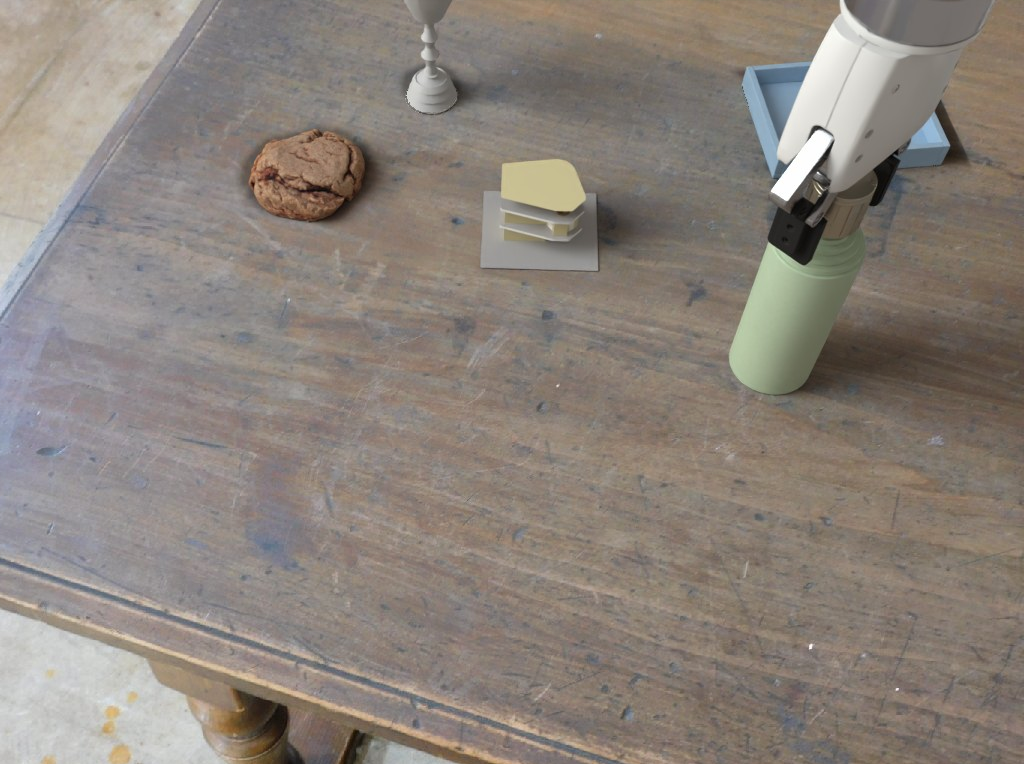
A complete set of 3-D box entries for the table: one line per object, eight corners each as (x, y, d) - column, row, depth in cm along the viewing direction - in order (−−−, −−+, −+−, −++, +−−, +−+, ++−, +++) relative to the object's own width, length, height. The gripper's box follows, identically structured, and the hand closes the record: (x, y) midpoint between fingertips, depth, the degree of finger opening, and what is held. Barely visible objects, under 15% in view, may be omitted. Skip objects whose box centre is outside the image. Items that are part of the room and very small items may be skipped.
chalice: (468, 121, 101) (468, -54, 86) (395, 124, 101) (383, -51, 86) (466, 69, 105) (466, -108, 89) (396, 71, 105) (384, -105, 90)
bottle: (798, 326, 88) (877, 145, 71) (819, 391, 84) (907, 217, 68) (720, 333, 87) (781, 153, 71) (738, 398, 84) (806, 225, 67)
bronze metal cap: (786, 215, 72) (801, 175, 69) (824, 186, 73) (840, 146, 70) (834, 249, 70) (851, 209, 67) (872, 218, 72) (891, 178, 68)
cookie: (388, 176, 98) (386, 151, 95) (303, 242, 94) (299, 218, 91) (313, 125, 101) (309, 100, 99) (228, 187, 98) (222, 162, 95)
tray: (899, 73, 103) (908, 53, 101) (940, 165, 96) (950, 145, 94) (741, 86, 102) (746, 66, 100) (772, 178, 96) (778, 159, 94)
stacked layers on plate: (480, 268, 92) (481, 223, 87) (483, 191, 96) (484, 144, 92) (598, 271, 91) (605, 226, 87) (596, 193, 96) (603, 147, 91)
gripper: (955, -113, 61) (856, 130, 76) (758, 28, 55) (694, 259, 71) (1076, -55, 58) (948, 186, 73) (880, 100, 52) (786, 326, 68)
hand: (824, 220), depth 72 cm, fingers open, 6 cm apart
